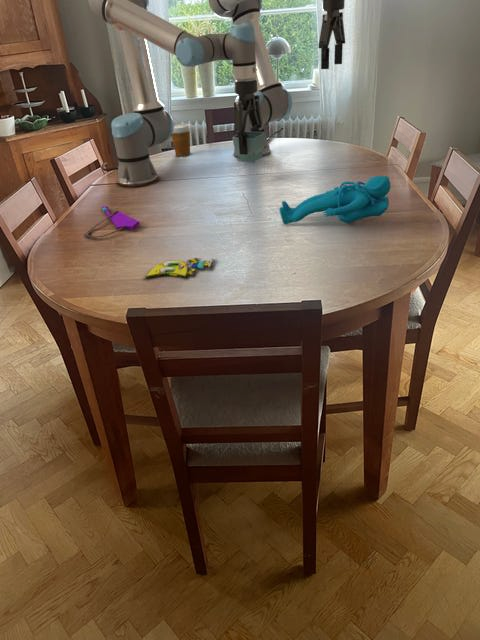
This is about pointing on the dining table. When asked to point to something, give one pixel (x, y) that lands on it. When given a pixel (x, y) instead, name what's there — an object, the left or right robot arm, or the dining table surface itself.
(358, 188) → the toy
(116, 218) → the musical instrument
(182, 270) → the toy
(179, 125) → the beer glass
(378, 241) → the dining table surface
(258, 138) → the green square planter
